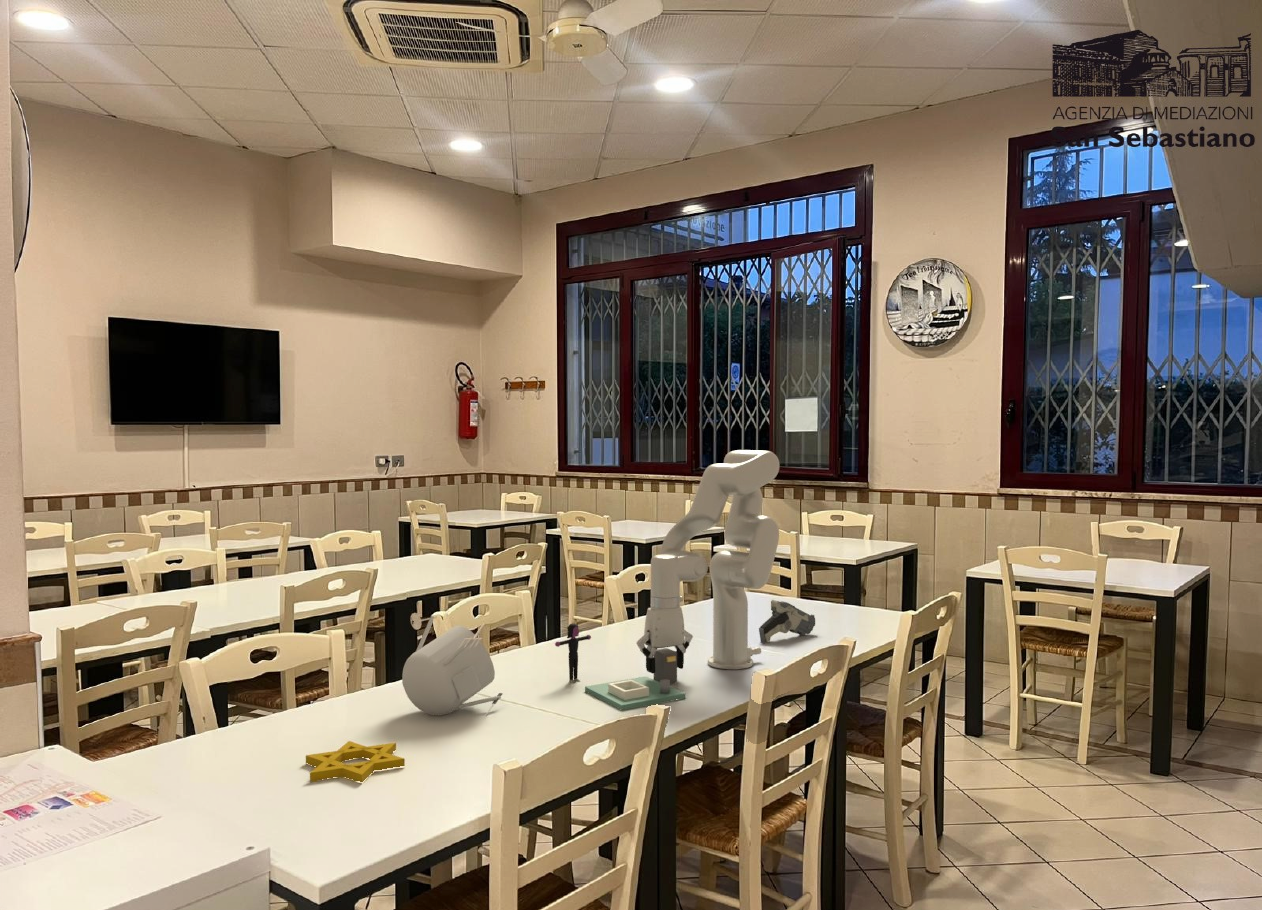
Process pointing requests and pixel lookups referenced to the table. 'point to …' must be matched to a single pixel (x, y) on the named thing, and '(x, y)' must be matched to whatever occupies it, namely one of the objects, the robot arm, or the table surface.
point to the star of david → (332, 766)
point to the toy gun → (786, 621)
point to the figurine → (573, 649)
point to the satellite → (447, 670)
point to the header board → (635, 692)
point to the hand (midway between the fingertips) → (665, 669)
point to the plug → (665, 665)
